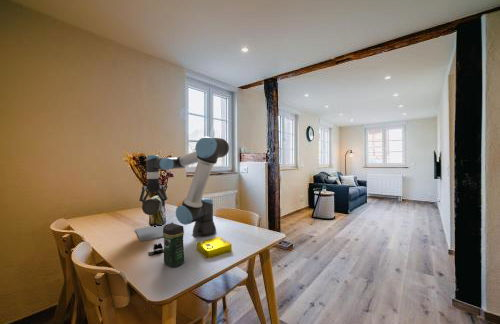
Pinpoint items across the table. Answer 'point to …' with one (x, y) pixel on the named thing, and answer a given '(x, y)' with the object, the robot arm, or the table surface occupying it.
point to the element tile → (213, 247)
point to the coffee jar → (173, 245)
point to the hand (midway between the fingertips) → (153, 211)
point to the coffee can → (152, 205)
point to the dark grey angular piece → (156, 250)
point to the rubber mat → (150, 233)
